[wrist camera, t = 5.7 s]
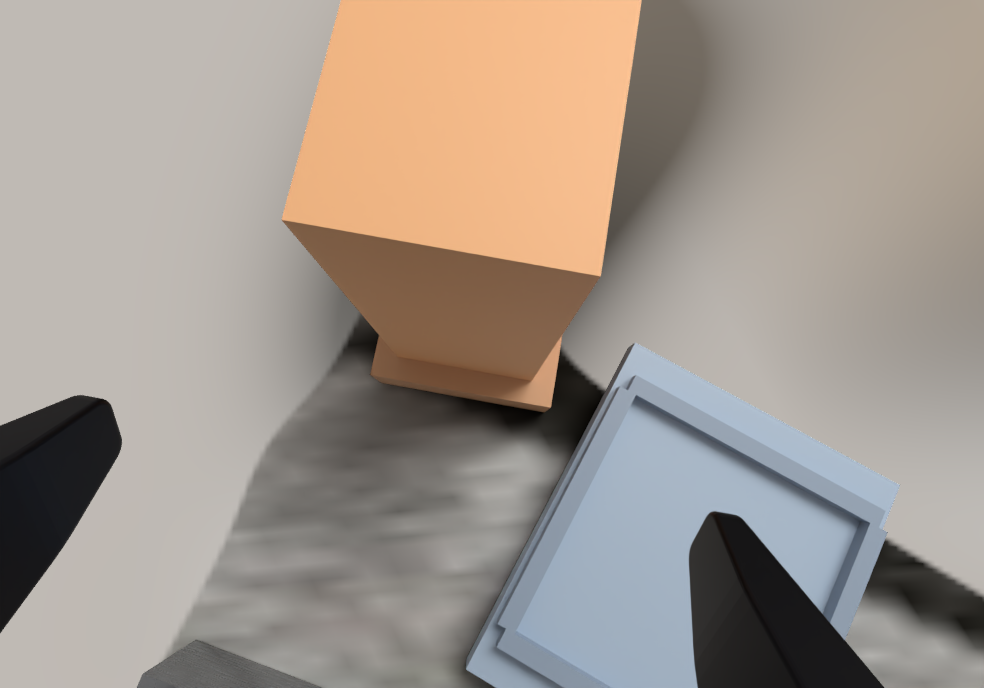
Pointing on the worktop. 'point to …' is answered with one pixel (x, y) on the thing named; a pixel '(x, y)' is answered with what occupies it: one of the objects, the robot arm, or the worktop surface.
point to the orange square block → (466, 181)
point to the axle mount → (215, 671)
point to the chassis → (671, 533)
